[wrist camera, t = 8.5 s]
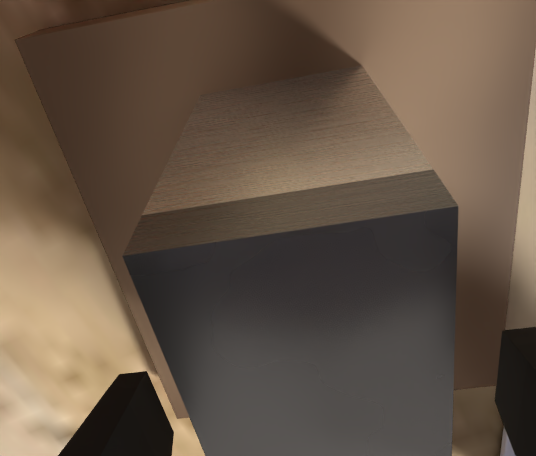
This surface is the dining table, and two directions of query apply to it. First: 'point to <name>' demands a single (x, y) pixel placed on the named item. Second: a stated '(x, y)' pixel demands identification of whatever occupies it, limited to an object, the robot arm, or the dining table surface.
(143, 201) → the stand
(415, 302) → the block
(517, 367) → the robot arm
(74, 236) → the dining table surface
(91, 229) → the dining table surface
